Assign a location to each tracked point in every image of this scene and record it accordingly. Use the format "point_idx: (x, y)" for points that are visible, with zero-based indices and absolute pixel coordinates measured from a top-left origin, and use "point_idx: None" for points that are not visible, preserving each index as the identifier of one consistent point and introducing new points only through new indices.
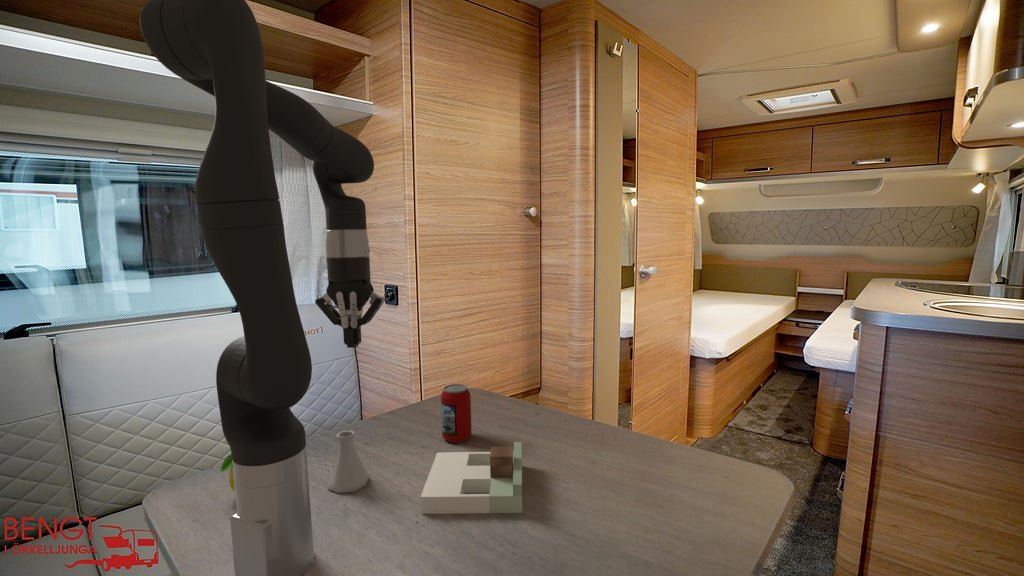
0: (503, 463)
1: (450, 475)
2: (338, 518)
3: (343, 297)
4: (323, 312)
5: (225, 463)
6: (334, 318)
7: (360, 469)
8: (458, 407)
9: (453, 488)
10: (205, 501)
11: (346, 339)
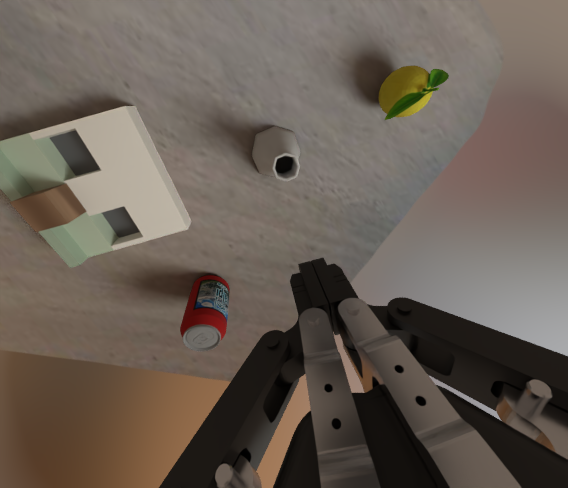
0: (32, 194)
1: (126, 175)
2: (236, 66)
3: (437, 473)
4: (497, 331)
5: (443, 74)
6: (417, 320)
7: (259, 158)
8: (190, 309)
9: (95, 141)
10: (434, 63)
11: (334, 275)
